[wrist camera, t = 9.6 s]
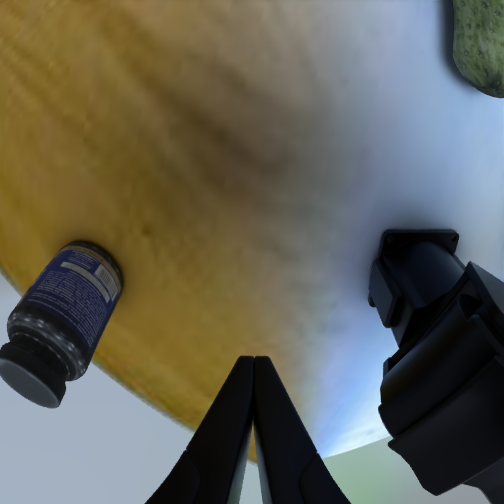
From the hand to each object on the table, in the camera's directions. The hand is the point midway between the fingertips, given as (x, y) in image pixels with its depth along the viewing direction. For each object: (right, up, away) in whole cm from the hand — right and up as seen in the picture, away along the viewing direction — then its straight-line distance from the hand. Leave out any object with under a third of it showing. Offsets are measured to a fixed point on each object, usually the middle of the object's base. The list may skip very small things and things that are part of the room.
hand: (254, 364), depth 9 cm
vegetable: (+16, +18, 0) cm, 24 cm away
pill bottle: (-13, +2, +14) cm, 19 cm away
